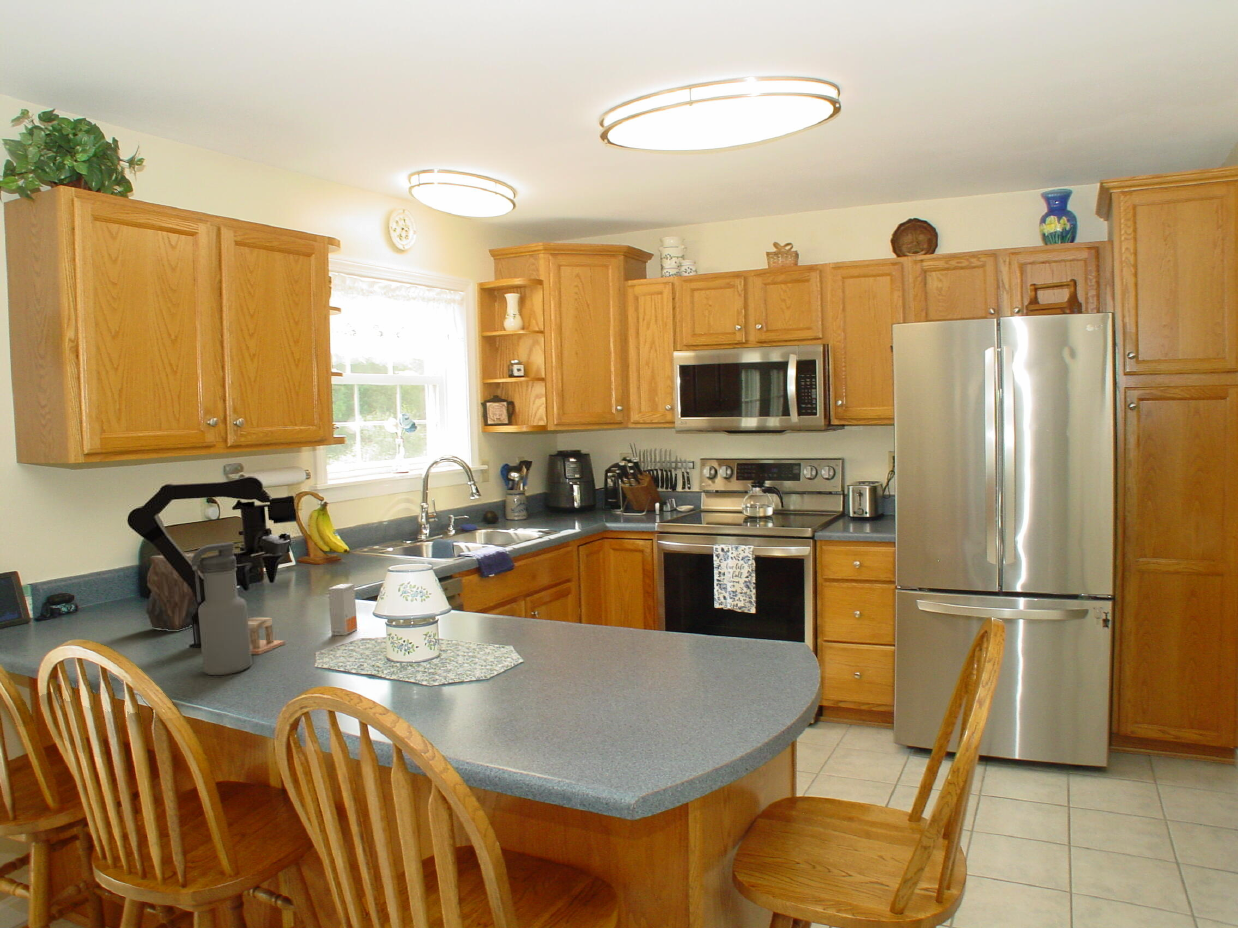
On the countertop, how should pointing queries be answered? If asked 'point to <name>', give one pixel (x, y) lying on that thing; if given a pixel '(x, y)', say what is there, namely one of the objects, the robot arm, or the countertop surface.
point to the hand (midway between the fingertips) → (259, 586)
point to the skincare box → (342, 609)
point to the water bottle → (221, 612)
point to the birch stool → (254, 630)
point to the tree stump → (169, 596)
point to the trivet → (266, 646)
